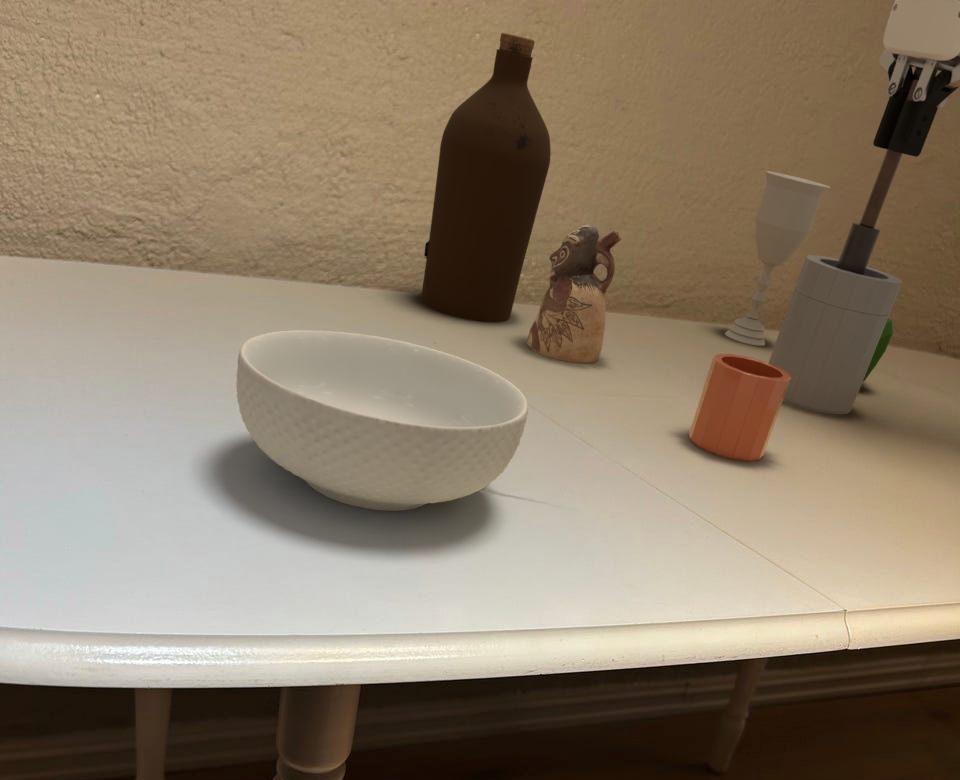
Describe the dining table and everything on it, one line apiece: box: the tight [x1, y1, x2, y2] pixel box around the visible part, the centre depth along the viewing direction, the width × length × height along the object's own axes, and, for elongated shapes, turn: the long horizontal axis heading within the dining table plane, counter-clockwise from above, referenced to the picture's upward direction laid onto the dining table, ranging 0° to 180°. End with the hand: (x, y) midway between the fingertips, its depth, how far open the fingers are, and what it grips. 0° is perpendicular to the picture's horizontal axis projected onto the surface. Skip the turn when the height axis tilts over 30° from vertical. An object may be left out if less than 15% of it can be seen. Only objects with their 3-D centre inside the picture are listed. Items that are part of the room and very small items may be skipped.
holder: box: [688, 353, 791, 462], centre depth 82 cm, size 6×6×7 cm
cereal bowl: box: [236, 329, 529, 512], centre depth 62 cm, size 17×17×7 cm
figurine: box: [526, 224, 622, 364], centre depth 97 cm, size 7×7×12 cm
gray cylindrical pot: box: [767, 254, 903, 415], centre depth 101 cm, size 9×9×13 cm
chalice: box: [724, 170, 831, 347], centre depth 119 cm, size 7×7×18 cm
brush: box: [836, 79, 919, 275], centre depth 94 cm, size 3×3×17 cm
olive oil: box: [420, 32, 552, 323], centre depth 102 cm, size 11×11×25 cm
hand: (895, 149), depth 92 cm, fingers closed on brush, 1 cm apart
